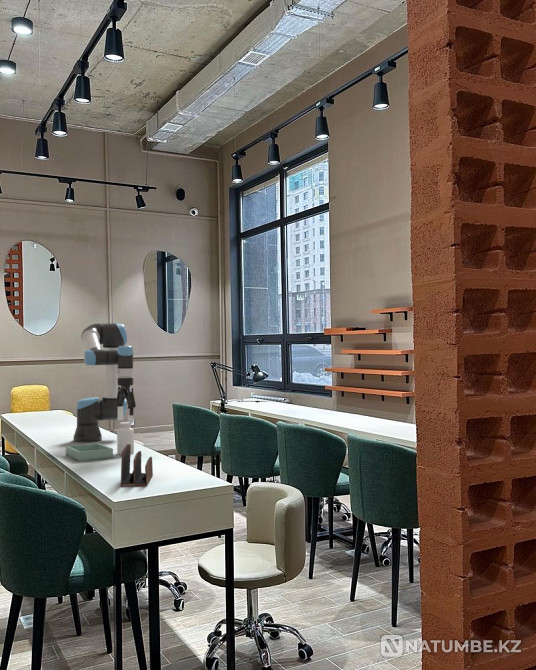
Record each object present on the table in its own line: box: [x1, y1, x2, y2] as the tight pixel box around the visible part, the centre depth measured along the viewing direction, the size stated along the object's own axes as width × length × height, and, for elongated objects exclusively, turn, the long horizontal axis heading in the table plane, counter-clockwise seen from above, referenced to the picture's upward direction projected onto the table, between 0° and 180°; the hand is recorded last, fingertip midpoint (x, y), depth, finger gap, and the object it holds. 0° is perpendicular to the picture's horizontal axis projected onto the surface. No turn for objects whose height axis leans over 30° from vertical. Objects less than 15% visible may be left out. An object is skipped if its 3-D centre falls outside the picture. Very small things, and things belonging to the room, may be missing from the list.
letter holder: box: [120, 444, 154, 488], centre depth 254 cm, size 10×20×14 cm, turn 4°
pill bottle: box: [116, 421, 135, 455], centre depth 317 cm, size 8×8×15 cm
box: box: [65, 442, 114, 463], centre depth 307 cm, size 20×16×4 cm
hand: (125, 420), depth 317 cm, fingers open, 13 cm apart
